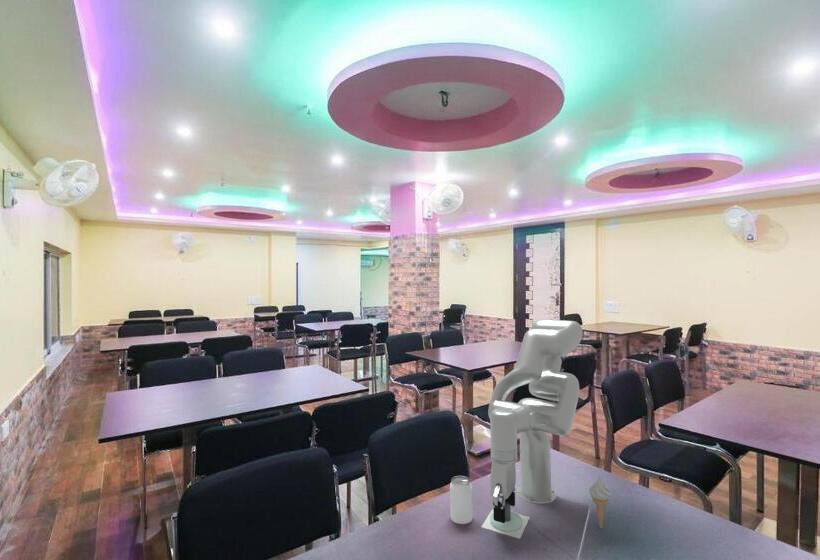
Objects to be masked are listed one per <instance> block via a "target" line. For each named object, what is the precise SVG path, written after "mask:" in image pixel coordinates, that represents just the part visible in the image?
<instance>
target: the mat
mask: <svg viewBox="0 0 820 560" xmlns="http://www.w3.org/2000/svg"><path fill="white" fill-rule="evenodd" d="M492 513H493V508H492V509H491V511H490V512H489V514H488V515H487V517H486V519H485V520H484V522H483V523H482V525H481V526H480V528H483V529H485V530H486V529H487V530H490V531H493V532H495V533H499V534H503V535H506V536H508V537H512V538H516V539H519V540H520V539H521V538H522V535H523V533H524V531H525V529H526V527H527V525H528V522H529V521H530V516H526V515H522V514H520V513H517V514H518V515H519V516H520V517H521V519H522V527H521V528H520V529H519V530H517V531H513V532H505V531H501V530H498V529H496V528H495V527H493V526H492V525H491V523H490V515H491V514H492Z"/></svg>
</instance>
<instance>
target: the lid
mask: <svg viewBox="0 0 820 560" xmlns="http://www.w3.org/2000/svg"><path fill="white" fill-rule="evenodd" d="M511 507H512V506H510V504H509V503H507V502H505V504H504V508H505V523H501V522H497V521H494V517H493V513H492V514H491V515H490V523H491V525H492V526H493V527H495V528H496V529H498V530H501V531H505V532H513V531H517V530H519V529H520V528H521V527H522V519H521V517H520V516H519V515H520V514H519V513H517V512H515V511H513V510H511ZM518 514H519V515H518Z"/></svg>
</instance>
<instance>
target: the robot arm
mask: <svg viewBox="0 0 820 560" xmlns="http://www.w3.org/2000/svg"><path fill="white" fill-rule="evenodd" d="M583 332H584V331H583V328H582V326H581V324H580V323H579V322H577V321H574V320H562V319H538V320H535V321H534V322H533V323H532V325H531V329H529V330H527V331H525V334H524V335H523V339H522V342H521V346H520V349H519V352H518V356H517V359H516V362H515V366H514V368H513V369H512V370H511V371H509V372H508V373H507V374H505V376H503V377H502V379H500V380H499V381H498V383H497V384H496V385H495V387H494V389H493V391H492V394H491V398H490V402H489V404H488V411H487V413H488V414H487V415H488V418H489V421H490V430H489V431H490V459H491V460H492V461H491V467H490V469H491V470H490V485H489V487H490V488H489V489H490V490H489V492H490V493H489V494H490V496H491V497H492V507H493V508H492V509H493V517H494V521H497V522H501V523H505V508H504V504H505V502H507V503H509V504H510V507H515V506H516V495H517V496H518V497H519V498H520V499H521V500H523V501H526V502H529V503H532V504H537V505H539V504H540V505H543V504H550V503H553V502H555V500H556V499H557V493H556V491H555V490H554V489H553V488H552V462H551V461H552V460H551V442H550V439H549V437H548V434H547V433H549V434H552V435H557V436H561V437H562V436H567V435H568V434H569V433H570V432H571V430H572V427H573V423H574V420H575V419H574V418H575V415H576V410H577V405H578V402H579V396H580V383H579V379H578V378H577V377H576V375H574V374H573V373H569V372H562V371H561V368H562V367H561V366H562V363H563V362H562V361H563V360H562V357H566V356H568V355H569V354H570V353H571V352H572V351H574V350H575V349H576V347H578V346H579V345H580V343H581V341H582V338H583ZM525 385H528V391H529V393H530V394H531V395H532V396H534V397H535V398H533V397H526V398H525V397H524V398H522V399H519V401H518V402H513V401H508V400H506V399H507V397H508V395H509V394H511V392H512V391H513V390H515V389H517V388H519V387H521V386H525ZM538 398H539V399H538ZM544 399H545V400H544ZM555 401H556V402H555ZM518 434H519V461H520V463H519V464H520V468H519V469H520V485H518V486H517V487H516V482H517V481H516V478H517V473H516V462H518ZM500 500H501V501H500Z"/></svg>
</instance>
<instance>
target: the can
mask: <svg viewBox="0 0 820 560" xmlns="http://www.w3.org/2000/svg"><path fill="white" fill-rule="evenodd" d="M450 481H451V482H450V484H449V504H450V506H449V507H450V519H451V521H452V522H454V523H455V524H459V525H460V524H461V525H467V524H469V523H471V522H472V521H473V517H474V516H473V515H474V514H473V487H472V483H471V479H470V478H469V477H467V476H465V475H456V476H453V477H451V479H450Z"/></svg>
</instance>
